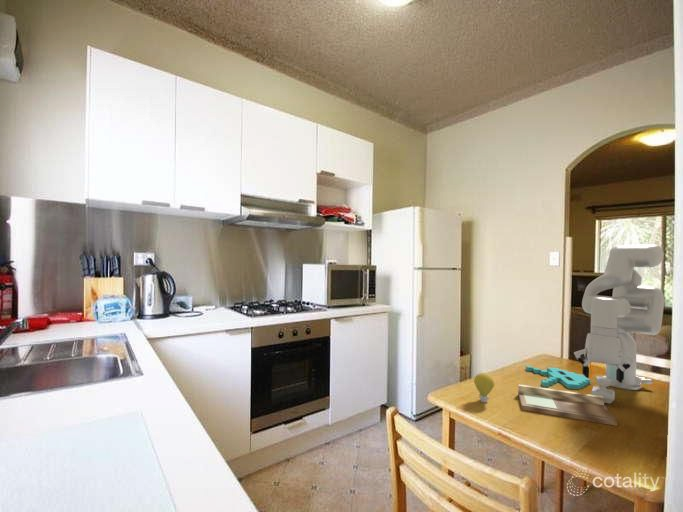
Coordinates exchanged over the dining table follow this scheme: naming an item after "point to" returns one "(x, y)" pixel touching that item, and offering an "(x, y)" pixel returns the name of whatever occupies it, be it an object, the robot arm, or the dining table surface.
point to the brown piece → (569, 404)
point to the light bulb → (484, 385)
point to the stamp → (603, 389)
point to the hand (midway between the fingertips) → (602, 378)
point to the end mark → (539, 400)
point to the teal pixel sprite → (561, 377)
